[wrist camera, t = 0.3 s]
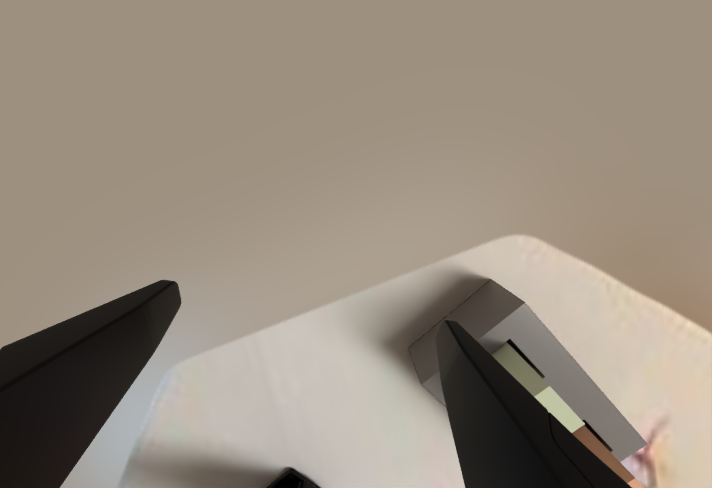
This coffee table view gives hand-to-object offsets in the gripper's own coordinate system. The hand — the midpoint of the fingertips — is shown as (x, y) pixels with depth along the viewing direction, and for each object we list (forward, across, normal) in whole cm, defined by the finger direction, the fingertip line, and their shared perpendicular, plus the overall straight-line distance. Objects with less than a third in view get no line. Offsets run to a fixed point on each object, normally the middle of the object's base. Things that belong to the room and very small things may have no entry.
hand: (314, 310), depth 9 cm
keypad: (+11, -21, +17) cm, 30 cm away
